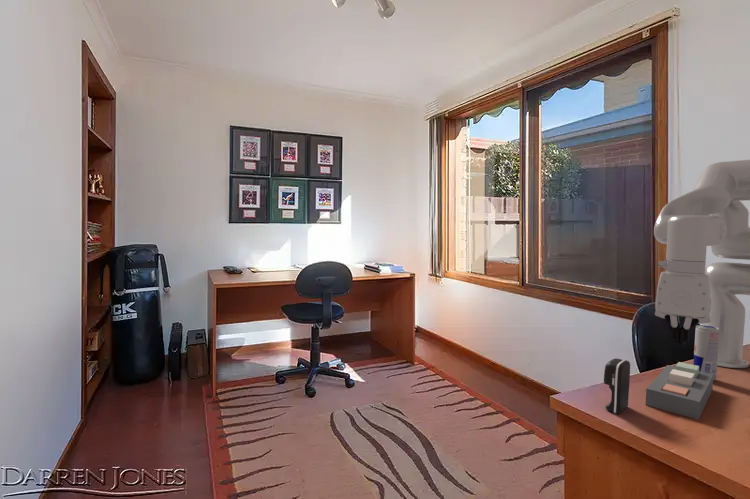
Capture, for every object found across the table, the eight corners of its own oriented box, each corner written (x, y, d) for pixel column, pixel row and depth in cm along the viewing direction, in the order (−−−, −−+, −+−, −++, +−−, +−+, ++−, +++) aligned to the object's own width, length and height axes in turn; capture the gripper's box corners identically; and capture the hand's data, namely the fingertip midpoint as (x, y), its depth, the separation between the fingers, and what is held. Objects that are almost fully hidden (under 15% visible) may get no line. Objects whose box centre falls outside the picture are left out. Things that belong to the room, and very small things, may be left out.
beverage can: (707, 376, 117) (710, 324, 116) (720, 383, 112) (724, 329, 111) (688, 375, 117) (691, 323, 116) (700, 382, 112) (704, 328, 111)
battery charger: (611, 401, 99) (613, 355, 98) (628, 406, 96) (631, 359, 95) (600, 409, 94) (602, 361, 94) (618, 415, 92) (621, 365, 91)
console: (666, 378, 114) (667, 365, 114) (712, 389, 107) (713, 374, 107) (645, 404, 97) (646, 388, 97) (698, 419, 90) (699, 401, 90)
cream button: (672, 381, 105) (673, 369, 105) (693, 386, 102) (694, 373, 102) (668, 385, 102) (669, 373, 102) (690, 391, 99) (691, 378, 99)
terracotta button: (665, 396, 99) (666, 383, 99) (687, 402, 96) (688, 388, 96) (661, 401, 96) (662, 388, 96) (684, 407, 93) (685, 394, 93)
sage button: (678, 373, 111) (678, 361, 110) (698, 377, 107) (699, 366, 107) (674, 377, 108) (675, 365, 107) (695, 382, 104) (696, 370, 104)
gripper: (643, 266, 99) (640, 340, 100) (724, 271, 88) (719, 354, 90) (651, 264, 104) (647, 334, 105) (727, 269, 94) (722, 347, 95)
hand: (680, 343), depth 98 cm, fingers closed
